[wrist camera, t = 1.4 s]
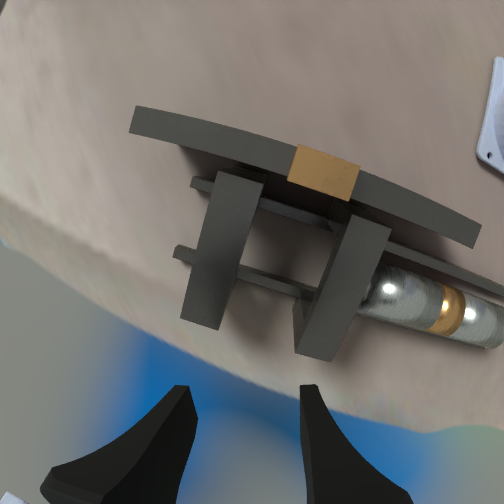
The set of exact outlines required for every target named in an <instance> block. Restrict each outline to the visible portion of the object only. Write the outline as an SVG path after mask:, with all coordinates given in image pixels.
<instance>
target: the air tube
mask: <svg viewBox="0 0 504 504" xmlns="http://www.w3.org/2000/svg"><path fill="white" fill-rule="evenodd" d="M356 312H359V313H362V314H366V315H369V316H373V317H376V318H380V319H383V320H387V321H390V322H394V323H397V324H401V325H405V326H408V327H412V328H415V329H419V330H423V331H426V332H430V333H434V334H437V335H441V336H445V337H449V338H452V339H456V340H460V341H464V342H467V343H471V344H475V345H479V346H483V347H487V348H496V347H498V346H499V345H500V344H502V342H503V341H504V307H503V306H500V305H498V304H495V303H493V302H490V301H487V300H485V299H482V298H480V297H477V296H474V295H472V294H469V293H466V292H464V291H461V290H458V289H456V288H453V287H450V286H448V285H445V284H442V283H439V282H437V281H434V280H431V279H429V278H426V277H423V276H420V275H417V274H415V273H412V272H409V271H406V270H403V269H401V268H398V267H395V266H392V265H389V264H386V263H384V262H381V261H379V262H378V265H377V267H376V269H375V272H374V274H373V276H372V278H371V281H370V283H369V285H368V287H367V290H366V292H365V294H364V296H363V298H362V301H361V303H360V305H359V307H358V309H357V311H356Z"/></svg>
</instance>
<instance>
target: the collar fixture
mask: <svg viewBox="0 0 504 504" xmlns="http://www.w3.org/2000/svg"><path fill="white" fill-rule="evenodd" d="M129 133H132V134H136V135H141V136H145V137H149V138H154V139H158V140H162V141H166V142H170V143H174V144H178V145H182V146H186V147H190V148H194V149H197V150H201V151H205V152H208V153H212V154H216V155H219V156H223V157H226V158H230V159H233V160H237V161H240V162H243V163H247V164H250V165H253V166H257V167H260V168H263V169H266V170H270V171H273V172H276V173H279V174H282V175H285V176H287V181H290V182H293V183H296V184H299V185H302V186H305V187H308V188H311V189H314V190H317V191H320V192H323V193H326V194H329V195H331V196H334V197H337V198H340V199H343V200H345V201H348V202H349V199H350V198H352V199H354V200H357V201H360V202H362V203H365V204H368V205H370V206H373V207H375V208H378V209H381V210H383V211H386V212H388V213H391V214H393V215H396V216H398V217H401V218H403V219H405V220H408V221H410V222H413V223H415V224H417V225H420V226H422V227H425V228H427V229H429V230H432V231H434V232H436V233H438V234H441V235H443V236H445V237H447V238H450V239H452V240H454V241H456V242H459V243H461V244H463V245H465V246H467V247H469V248H472V249H473V247H474V245H475V242H476V240H477V237H478V234H479V232H480V229H481V226H482V225H481V224H479V223H477V222H475V221H473V220H471V219H469V218H467V217H465V216H463V215H461V214H459V213H457V212H455V211H453V210H451V209H449V208H447V207H445V206H443V205H441V204H439V203H437V202H435V201H432V200H430V199H428V198H426V197H424V196H422V195H419V194H417V193H415V192H413V191H410V190H408V189H406V188H404V187H401V186H399V185H397V184H394V183H392V182H389V181H387V180H385V179H382V178H380V177H377V176H375V175H372V174H370V173H367V172H365V171H362V170H360V167H361V166H359V165H356V164H353V163H351V162H348V161H345V160H343V159H340V158H337V157H335V156H332V155H329V154H326V153H324V152H321V151H318V150H315V149H312V148H309V147H306V146H303V145H300V144H298V145H297V147H296V146H292V145H289V144H286V143H283V142H280V141H277V140H274V139H270V138H267V137H264V136H260V135H257V134H253V133H250V132H247V131H243V130H239V129H236V128H232V127H228V126H225V125H221V124H217V123H213V122H209V121H205V120H201V119H197V118H193V117H189V116H184V115H180V114H175V113H171V112H166V111H162V110H157V109H152V108H147V107H142V106H136V107H135V111H134V115H133V118H132V122H131V126H130V130H129ZM267 177H268V175H264V174H261V173H258V172H255V171H251V170H248V169H245V168H241V167H238V166H235V165H234V166H231V167H228V168H225V169H221V170H218V172H217V176H216V179H215V181H213V180H209V179H206V178H202V177H199V176H193V177H192V180H191V184H190V187H192V188H195V189H199V190H202V191H205V192H209V193H211V197H210V201H209V204H208V208H207V212H206V215H205V219H204V223H203V227H202V230H201V234H200V238H199V242H198V246H197V250H194V249H191V248H188V247H185V246H182V245H178V246H177V247H175V249H174V254H173V258H176V259H179V260H183V261H186V262H189V263H192V264H193V266H192V270H191V274H190V278H189V282H188V286H187V290H186V294H185V299H184V303H183V307H182V312H181V316H180V318H182V319H184V320H187V321H190V322H193V323H196V324H199V325H202V326H205V327H208V328H212V329H215V330H219V327H220V324H221V321H222V318H223V315H224V312H225V309H226V306H227V304H228V301H229V298H230V295H231V292H232V289H233V286H234V282H235V279H236V278H238V279H242V280H245V281H248V282H251V283H254V284H257V285H261V286H264V287H267V288H270V289H274V290H277V291H280V292H283V293H287V294H290V295H293V296H297V298H296V300H295V303H294V305H293V308H292V310H293V328H294V347H295V353H297V354H300V355H304V356H308V357H312V358H316V359H320V360H324V361H328V362H331V361H332V359H333V357H334V355H335V353H336V351H337V349H338V347H339V345H340V343H341V342H342V340H343V338H344V336H345V334H346V332H347V330H348V328H349V326H350V324H351V322H352V319H353V317H354V315H355V314H358V315H361V316H365V317H368V318H372V319H375V320H379V321H382V322H386V323H389V324H393V325H397V326H400V327H404V328H407V329H411V330H415V331H418V332H422V333H426V334H430V335H433V336H437V337H441V338H445V339H448V340H452V341H456V342H460V343H464V344H468V345H472V346H476V347H479V348H483V349H484V348H485V347H483V346H479V345H475V344H471V343H467V342H464V341H460V340H456V339H452V338H449V337H445V336H441V335H437V334H434V333H430V332H426V331H423V330H419V329H415V328H412V327H408V326H405V325H401V324H397V323H394V322H390V321H387V320H383V319H380V318H376V317H373V316H369V315H366V314H362V313H359V312H356V311H357V309H358V307H359V305H360V303H361V301H362V298H363V296H364V294H365V292H366V290H367V287H368V285H369V283H370V281H371V278H372V276H373V274H374V272H375V269H376V267H377V265H378V262H379V260H380V257H381V255H382V253H383V250H385V251H388V252H390V253H393V254H396V255H399V256H401V257H404V258H407V259H409V260H412V261H415V262H417V263H420V264H423V265H425V266H428V267H431V268H433V269H436V270H439V271H441V272H444V273H446V274H449V275H451V276H454V277H456V278H459V279H462V280H464V281H467V282H469V283H472V284H474V285H477V286H479V287H481V288H484V289H486V290H489V291H491V292H494V293H496V294H499V295H501V296H503V297H504V286H502V285H500V284H498V283H495V282H493V281H491V280H489V279H486V278H484V277H482V276H479V275H477V274H475V273H472V272H470V271H468V270H465V269H463V268H460V267H458V266H456V265H453V264H451V263H448V262H446V261H443V260H441V259H439V258H436V257H434V256H431V255H429V254H426V253H424V252H421V251H418V250H416V249H413V248H411V247H408V246H406V245H403V244H400V243H398V242H395V241H392V240H390V239H388V238H389V235H390V233H391V230H392V229H391V228H390V227H388V226H387V225H386V224H384V223H383V222H382V221H380V220H379V219H378V218H376V217H375V216H374V215H372V214H371V213H370V212H368V211H367V210H366V209H364V208H361V207H358V206H355V205H353V204H350V203H347V202H345V201H342V200H339V199H336V198H334V199H333V202H332V205H331V208H330V210H329V213H328V216H327V217H326V216H323V215H320V214H317V213H314V212H311V211H308V210H305V209H302V208H299V207H296V206H293V205H290V204H287V203H284V202H281V201H278V200H275V199H272V198H268V197H265V196H262V193H263V190H264V186H265V183H266V180H267ZM257 207H258V208H261V209H264V210H267V211H270V212H273V213H277V214H280V215H283V216H286V217H289V218H292V219H295V220H298V221H301V222H304V223H307V224H310V225H313V226H316V227H319V228H322V229H325V230H328V231H331V232H334V234H335V235H336V237H337V240H336V243H335V246H334V248H333V251H332V253H331V256H330V258H329V261H328V264H327V266H326V269H325V271H324V274H323V276H322V278H321V281H320V283H319V286H318V288H315V287H312V286H309V285H305V284H302V283H299V282H296V281H293V280H289V279H286V278H283V277H280V276H276V275H273V274H270V273H267V272H264V271H260V270H257V269H254V268H251V267H248V266H245V265H241V264H239V263H240V259H241V256H242V253H243V250H244V246H245V243H246V240H247V237H248V234H249V230H250V227H251V224H252V221H253V218H254V214H255V211H256V209H257Z"/></svg>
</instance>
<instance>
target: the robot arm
mask: <svg viewBox="0 0 504 504" xmlns="http://www.w3.org/2000/svg"><path fill="white" fill-rule="evenodd" d="M476 153H477V156H478V158H479V159H481V160H482V161H484V162H485V163H487V164H488V165H490V166H492V167H493V168H495V169H496V170H498V171H499V172H501V173H502V174H504V58H502V57H496V58H495V60H494V66H493V73H492V80H491V86H490V91H489V97H488V102H487V107H486V112H485V116H484V121H483V125H482V129H481V134H480V138H479V142H478V145H477V150H476ZM487 153H489V155H490V157H489V159H488V158H487ZM197 422H198V417H197V413H196V410H195V406H194V403H193V400H192V395H191V392H190V388H189V386H183V385H175V386H174V387H173V388H172V389H171V390H170V391H169V392H168V393H167V394H166V395H165V396H164V397H163V398H162V399H161V400H160V401H159V402H158V403H157V404H156V405H155V406H154V407H153V408H152V409H151V410H150V411H149V412H148V413H147V414H146V415H145V416H144V417H143V418H142V419H141V420H140V421H138V422H137V423H136V424H135V425H134V426H133V427H131V428H130V429H129V430H128V431H126V432H125V433H124V434H122V435H121V436H120V437H118V438H117V439H115V440H114V441H112V442H111V443H109V444H107V445H105V446H104V447H102V448H100V449H98V450H97V451H95V452H93V453H91V454H88V455H86V456H84V457H82V458H79V459H77V460H74V461H71V462H68V463H66V464H62V465H59V466H56V467H52V469H51V470H50V472H49V474H48V475H47V477H46V478H45V480H44V482H43V483H42V485H41V487H40V492H41V494H42V495H43V496H44V498H45V499H46V500H47V501H48V502H49V503H50V504H176V499H177V494H178V489H179V485H180V481H181V478H182V475H183V472H184V469H185V466H186V463H187V460H188V457H189V454H190V451H191V448H192V445H193V442H194V439H195V434H196V428H197ZM300 437H301V438H300V439H301V447H302V455H303V462H304V469H305V477H306V487H307V504H413V501H412V499H411V497H410V496H409V494H408V492H407V491H405V490H404V489H402V488H401V487H399V486H397V485H396V484H394V483H393V482H391V481H390V480H389V479H388V478H386V477H385V476H384V475H382V474H381V473H380V472H379V471H378V470H376V469H375V468H374V467H373V466H372V465H371V464H370V463H369V462H367V461H366V460H365V459H364V458H363V457H362V456H361V455H360V453H359V452H358V451H357V450H356V449H355V448H354V447H353V446H352V444H351V443H350V442H349V441H348V439H347V438H346V437H345V436H344V434H343V433H342V432H341V430H340V429H339V427H338V426H337V424H336V423H335V421H334V419H333V418H332V416H331V414H330V413H329V411H328V409H327V407H326V405H325V403H324V401H323V399H322V397H321V394H320V392H319V389H318V386H317V385H315V384H311V385H300ZM0 504H28V503H27V502H25V501H24V500H22V499H20V498H19V497H17V496H15V495H13V494H11V493H10V492H6V493H5V495H4V496H3V498H2V499H1V501H0Z"/></svg>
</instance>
